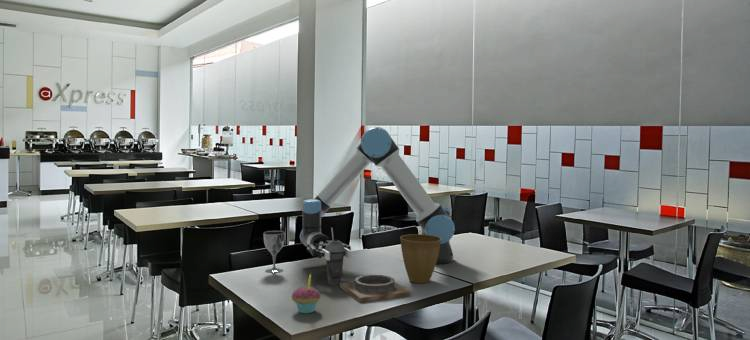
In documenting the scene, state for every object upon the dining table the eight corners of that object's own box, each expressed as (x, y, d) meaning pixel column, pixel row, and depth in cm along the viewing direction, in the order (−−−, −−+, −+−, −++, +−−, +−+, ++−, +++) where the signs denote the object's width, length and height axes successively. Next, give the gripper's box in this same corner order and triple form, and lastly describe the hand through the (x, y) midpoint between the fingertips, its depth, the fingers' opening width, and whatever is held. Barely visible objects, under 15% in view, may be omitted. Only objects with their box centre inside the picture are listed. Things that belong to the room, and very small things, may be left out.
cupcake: (326, 310, 157) (326, 271, 156) (304, 317, 151) (304, 277, 150) (307, 304, 163) (307, 266, 162) (285, 311, 157) (285, 271, 156)
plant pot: (423, 289, 180) (423, 243, 179) (391, 280, 191) (391, 237, 190) (448, 280, 191) (449, 237, 190) (417, 273, 201) (417, 232, 200)
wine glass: (259, 272, 201) (259, 233, 200) (270, 267, 208) (270, 230, 207) (278, 274, 198) (278, 235, 197) (288, 269, 206) (288, 231, 205)
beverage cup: (341, 286, 183) (342, 229, 181) (321, 284, 184) (322, 228, 183) (346, 280, 190) (347, 226, 189) (327, 279, 191) (328, 225, 190)
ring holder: (386, 281, 189) (387, 271, 189) (410, 295, 172) (410, 284, 172) (340, 287, 181) (340, 276, 181) (360, 302, 165) (360, 290, 165)
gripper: (343, 250, 207) (365, 263, 186) (293, 254, 199) (311, 268, 178) (343, 231, 206) (366, 242, 186) (293, 235, 198) (311, 247, 177)
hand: (339, 255), depth 182 cm, fingers closed on beverage cup, 7 cm apart
